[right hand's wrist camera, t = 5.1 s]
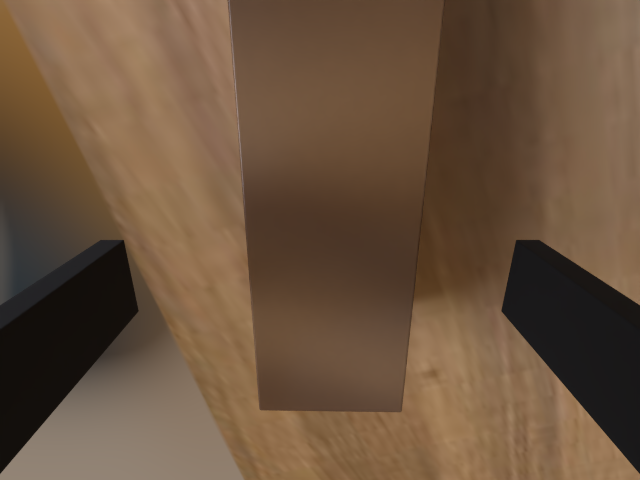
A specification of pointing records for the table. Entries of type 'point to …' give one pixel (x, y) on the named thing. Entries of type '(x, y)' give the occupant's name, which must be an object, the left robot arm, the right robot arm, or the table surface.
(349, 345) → the beam
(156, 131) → the table surface
